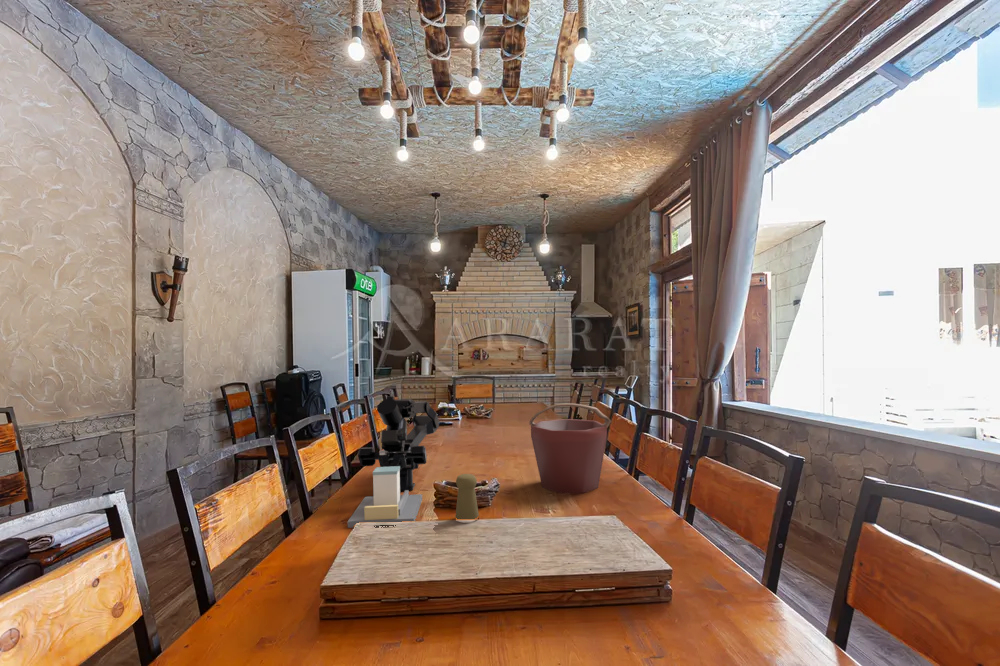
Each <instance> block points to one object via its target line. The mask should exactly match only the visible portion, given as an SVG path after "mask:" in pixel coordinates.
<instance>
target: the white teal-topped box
mask: <svg viewBox="0 0 1000 666" xmlns="http://www.w3.org/2000/svg"><path fill="white" fill-rule="evenodd" d="M372 478H373V479H372V481H373V483H372V485H373V486H372V487H373V489H372V490H373V496H374V506H379V505H398V504H399V502H400V495H401V491H400V466H391V467H380V466H376V467H375V468H374V470H373V471H372Z"/></svg>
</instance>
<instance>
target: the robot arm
mask: <svg viewBox="0 0 1000 666" xmlns="http://www.w3.org/2000/svg"><path fill="white" fill-rule="evenodd" d="M376 411H377V413H378V415H379V417H380V419H381V421H382V423H383V424H384V425H385V426H386V430H382V431H381V438H380V443H381V449H382V450H379V451H376V452H375V449H374V447H361V448H359V450H358V451H357V457H358V461H359V464H360V466H362V467H373V466H374V465H376V461H377V460H378V464H379V467H391V466H400V492H401V491H402V492H403V491H404V492H405V490H409V491H413V490H414V488H415V487H416V482H413V481H414V480H413V479H414V476H413V473H414V472H413V471H414V470H416V469H419V465H426V464H427V459H428V457H427V449H426V447H425V445H421V443H422V442H423V441H424V439H425V438H426V437H427V436H428V435H432V434H434V433H436V432H437V430H438V429H439V427H440V420H439V416H438V413H437V412H436V411H435V410H434V409H433V408H432V407H431V404H430V402H428V401H425V400H423V401H421V400H420V401H419V400H418V401H415V400H413V399H411V398H410V399H396V398H395V397H394V396H391V395H389V396H387V397H386V399H383V400H381V401H380V402H379V404H377V406H376ZM417 414H426V415H417ZM406 419H411V422H412V424H413V428H412V429H411V430H410V431H409V432H408V427H407V426H408V425H407V424H408V423H407V420H406Z"/></svg>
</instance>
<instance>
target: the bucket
mask: <svg viewBox="0 0 1000 666" xmlns="http://www.w3.org/2000/svg"><path fill="white" fill-rule="evenodd" d="M558 407H560V408H561V407H574V408H580V409H585V410H588V411H593V412H594V413H595V414H596V416H598V417H599V418H600V419H603V420H604V423H601V422H600V421H598V420H589V419H588V420H587V419H575V418H561V419H550V420H541V421H540V420H539V421H538V422H534V421H535V420H536V419H537V417H538V416H539V415H541V414H543V413H545V412H547V411H549V410H553V409H555V408H558ZM528 421H529V422H528V423H529V425H530V438H531V443H532V446H533V450H534V456H535V460H536V465H537V469H538V470H537V471H538V473H539V474H538V475H539V478H540V483H541V488H543V489H545V490H548V491H550V492H553V493H555V494H585V493H589V492H591V491H593V490H595V489H598V488H599V485H600V479H601V474H602V467H603V462H604V457H605V450H606V449H605V448H606V442H607V437H608V433H607V432H608V430H607V429H608V427H609V426H610V425H611V423H612V420H611V419H610V417H608V416H607V415H605V414H604V413H603V412H602V411H600V409H599V408H597V407H595V406H590V405H585V404H580V403H556V404H553V405H550V406H547V407H546V408H544V409H542V410H540V411H538V412H536V413H535V414H534V415H533V416H532V417H531V419H530V420H528Z"/></svg>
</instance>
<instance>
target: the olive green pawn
mask: <svg viewBox="0 0 1000 666" xmlns="http://www.w3.org/2000/svg"><path fill="white" fill-rule="evenodd" d="M477 481H478V479H477V477H476V476H475V475H474V474H473V473H472V474H471V473H463V474H460V475H458V476H457V477H456V480H455V485H456V487H457V488H458V489H457V499H456V508H455V516H454V518H455V517H456V518H457V519H475V518H477V517H478V516H479V517H480V515H479V507H478V502H477V495H476V488H475V487H476V486H477Z"/></svg>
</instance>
